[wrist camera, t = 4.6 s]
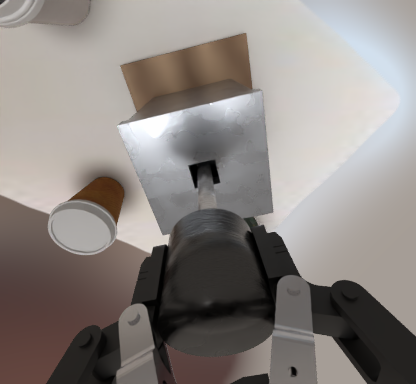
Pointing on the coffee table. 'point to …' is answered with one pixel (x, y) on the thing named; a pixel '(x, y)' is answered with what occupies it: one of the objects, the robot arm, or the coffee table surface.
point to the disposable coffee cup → (88, 218)
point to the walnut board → (188, 69)
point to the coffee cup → (42, 12)
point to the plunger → (213, 280)
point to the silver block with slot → (201, 150)
